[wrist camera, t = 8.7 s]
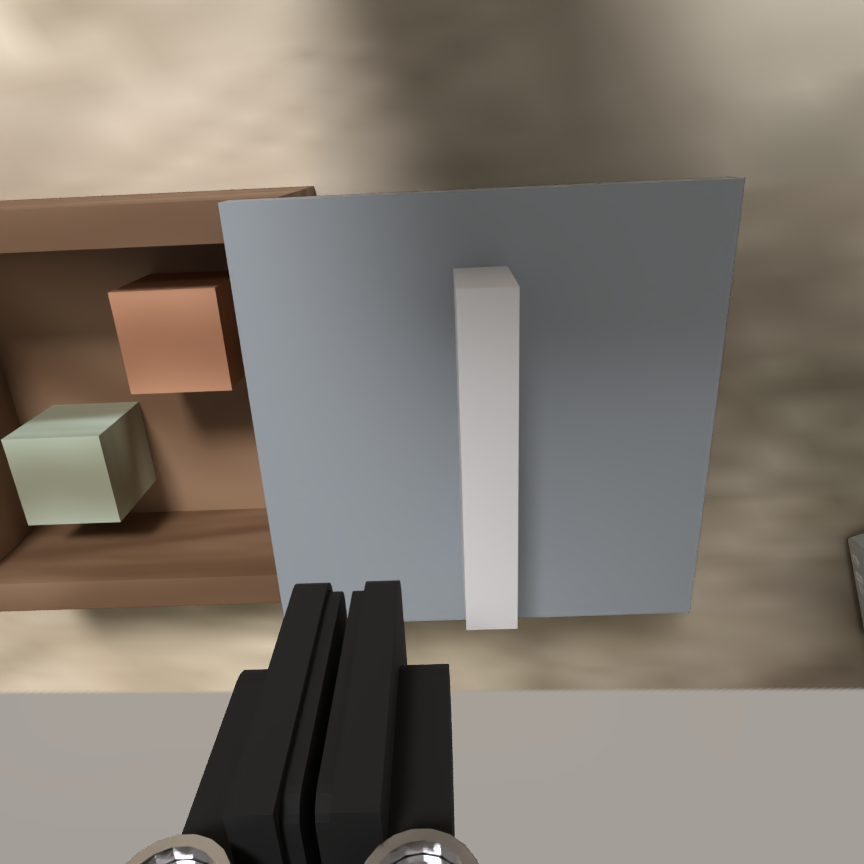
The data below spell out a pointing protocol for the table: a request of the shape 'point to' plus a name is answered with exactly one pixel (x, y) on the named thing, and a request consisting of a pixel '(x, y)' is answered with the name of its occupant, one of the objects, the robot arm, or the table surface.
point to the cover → (488, 390)
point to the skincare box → (858, 566)
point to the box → (126, 408)
